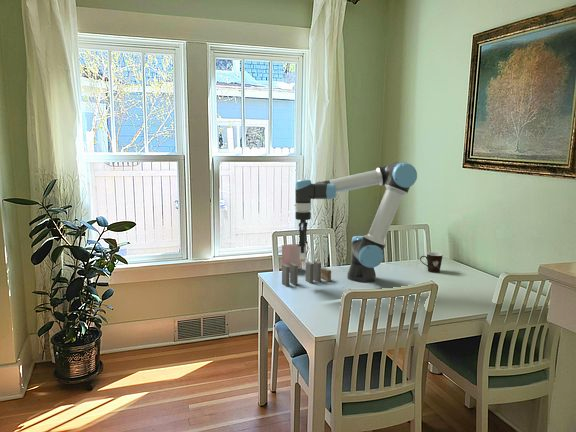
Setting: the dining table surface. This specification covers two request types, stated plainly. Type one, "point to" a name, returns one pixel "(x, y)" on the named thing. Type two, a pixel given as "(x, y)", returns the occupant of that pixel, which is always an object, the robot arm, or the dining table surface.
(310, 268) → the domino
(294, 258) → the greeting card
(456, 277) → the dining table surface
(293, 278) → the domino
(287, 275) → the domino
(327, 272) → the block
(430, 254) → the coffee mug
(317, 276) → the domino
